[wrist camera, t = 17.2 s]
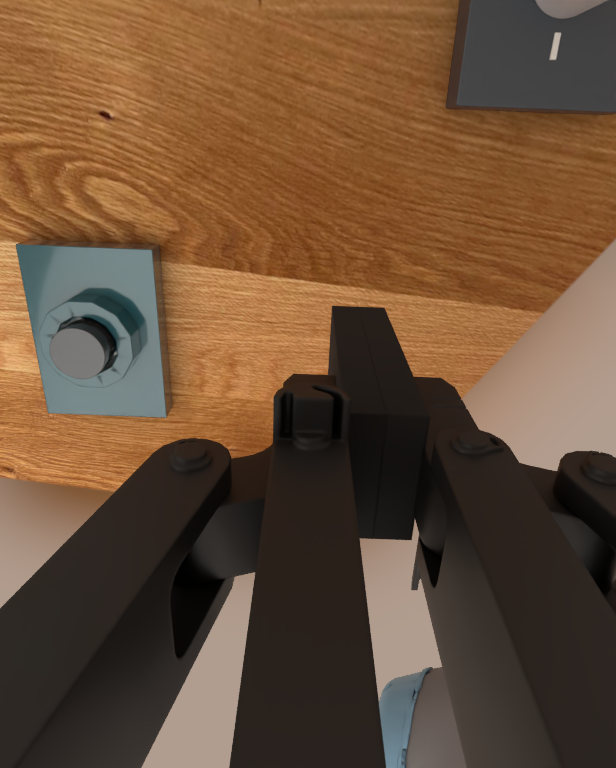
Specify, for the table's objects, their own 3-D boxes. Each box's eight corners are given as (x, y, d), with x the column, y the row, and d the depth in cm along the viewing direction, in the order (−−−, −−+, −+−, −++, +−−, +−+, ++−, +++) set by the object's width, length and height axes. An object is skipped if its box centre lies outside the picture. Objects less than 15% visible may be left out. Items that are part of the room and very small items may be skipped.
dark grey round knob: (117, 369, 41) (108, 380, 39) (66, 367, 41) (54, 378, 39) (111, 320, 39) (101, 329, 37) (57, 317, 39) (44, 326, 37)
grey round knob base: (172, 407, 46) (160, 429, 42) (58, 402, 46) (36, 425, 42) (159, 244, 40) (143, 254, 37) (28, 239, 40) (0, 249, 36)
